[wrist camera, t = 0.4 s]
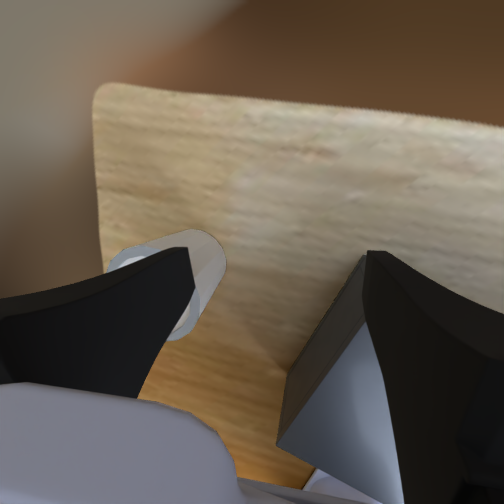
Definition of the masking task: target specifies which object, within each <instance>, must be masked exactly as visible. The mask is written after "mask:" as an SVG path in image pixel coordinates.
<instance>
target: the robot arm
mask: <svg viewBox="0 0 504 504" xmlns="http://www.w3.org/2000/svg"><path fill="white" fill-rule="evenodd" d="M195 288H196V287H195V281H194V276H193V271H192V266H191V261H190V256H189V251H188V247H171V248H168V249H165V250H162V251H160V252H157V253H155V254H152V255H150V256H147V257H145V258H143V259H140V260H138V261H136V262H133V263H131V264H128V265H126V266H123V267H121V268H118V269H116V270H113V271H111V272H108V273H105V274H102V275H100V276H97V277H94V278H90V279H87V280H84V281H81V282H77V283H74V284H70V285H66V286H62V287H58V288H54V289H50V290H46V291H41V292H36V293H31V294H26V295H20V296H14V297H8V298H2V299H0V504H382V503H380V502H378V501H376V500H374V499H373V498H371V497H369V496H367V495H365V494H363V493H362V492H360V491H358V490H356V489H354V488H352V487H351V486H349V485H347V484H345V483H343V482H341V481H340V480H338V479H336V478H334V477H332V476H330V475H329V474H327V473H325V472H323V471H321V470H319V469H318V468H316V470H315V471H314V473H313V474H312V476H311V477H310V479H309V480H308V482H307V483H306V485H305V486H304V488H303V489H302V490H299V489H294V488H289V487H284V486H279V485H274V484H270V483H265V482H260V481H255V480H250V479H245V478H240V477H237V475H236V470H235V464H234V460H233V459H232V457H231V455H230V453H229V451H228V450H227V448H226V446H225V445H224V443H223V441H222V439H221V438H220V436H219V434H218V433H217V431H215V430H214V429H213V428H211V427H210V426H208V425H207V424H206V423H204V422H203V421H201V420H200V419H199V418H197V417H196V416H194V415H193V414H192V413H190V412H187V411H184V410H181V409H178V408H175V407H172V406H169V405H166V404H163V403H159V402H155V401H149V400H142V399H137V397H138V395H139V393H140V390H141V388H142V386H143V384H144V381H145V379H146V377H147V375H148V373H149V371H150V369H151V367H152V365H153V363H154V361H155V359H156V357H157V355H158V353H159V351H160V350H161V348H162V346H163V345H164V343H165V342H166V340H167V338H168V337H169V335H170V334H171V332H172V330H173V329H174V327H175V326H176V324H177V323H178V321H179V319H180V318H181V316H182V315H183V313H184V311H185V310H186V308H187V306H188V304H189V302H190V300H191V298H192V295H193V293H194V290H195ZM362 302H363V309H364V315H365V320H366V323H367V327H368V330H369V333H370V337H371V340H372V343H373V346H374V350H375V353H376V356H377V359H378V363H379V366H380V369H381V373H382V377H383V381H384V385H385V390H386V396H387V401H388V406H389V411H390V417H391V423H392V429H393V434H394V440H395V446H396V453H397V459H398V465H399V472H400V478H401V485H402V492H403V499H404V504H504V314H502V313H499V312H497V311H494V310H492V309H489V308H487V307H485V306H482V305H480V304H478V303H476V302H473V301H471V300H469V299H467V298H465V297H463V296H461V295H458V294H456V293H454V292H453V291H451V290H449V289H447V288H445V287H443V286H441V285H440V284H438V283H436V282H434V281H433V280H431V279H429V278H428V277H426V276H424V275H423V274H421V273H419V272H418V271H416V270H415V269H413V268H412V267H410V266H409V265H407V264H405V263H404V262H402V261H401V260H399V259H398V258H396V257H395V256H393V255H392V254H390V253H388V252H387V251H374V250H367V256H366V264H365V272H364V281H363V289H362Z"/></svg>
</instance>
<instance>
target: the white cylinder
mask: <svg viewBox="0 0 504 504" xmlns="http://www.w3.org/2000/svg"><path fill="white" fill-rule="evenodd" d="M171 247H188V251H189V256H190V261H191V266H192V271H193V276H194V281H195V287H196V288H195V290H194V293H193V295H192V298H191V300H190V302H189V304H188V306H187V308H186V310H185V311H184V313H183V315H182V316H181V318H180V319H179V321H178V323H177V324H176V326H175V327H174V329H173V330H172V332H171V334H170V335H169V337H168V338H167V340H166V341H174V340H178V339H180V338H182V337H183V336H185V335H186V334H188V333H190V332H191V331H192V329H193V327H194V326H195V324H196V322H197V320H198V319H199V317H200V315H201V314H202V312H203V310H204V308H205V307H206V305H207V303H208V301H209V300H210V298H211V296H212V295H213V293H214V291H215V289H216V288H217V286H218V284H219V282H220V281H221V279H222V277H223V275H224V274H225V271H226V257H225V254H224V251H223V248H222V247H221V246H220V244H219V243H218V242H217V240H216V239H215V238H214V237H212V236H211V235H209V234H207V233H206V232H204V231H201V230H195V229H188V230H184V231H180V232H177V233H174V234H171V235H167V236H164V237H161V238H158V239H155V240H152V241H148V242H145V243H142V244H139V245H136V246H133V247H130V248H126V249H123V250H122V251H121V252H120V253H119V254H117V255H116V256H115V257H114V258H113V259H112V260H111V261H110V264H109V266H108V269H107V272H106V273H108V272H111V271H113V270H116V269H118V268H121V267H123V266H126V265H128V264H131V263H133V262H136V261H138V260H140V259H143V258H145V257H147V256H150V255H152V254H155V253H157V252H160V251H162V250H165V249H168V248H171Z"/></svg>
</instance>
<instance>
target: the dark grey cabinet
mask: <svg viewBox="0 0 504 504" xmlns="http://www.w3.org/2000/svg"><path fill="white" fill-rule="evenodd" d="M365 264H366V255H363V256H362V258H361V260H360V261H359V263H358V264H357V266H356V267H355V269H354V271H353V272H352V274H351V275H350V277H349V278H348V280H347V281H346V283H345V285H344V286H343V288H342V289H341V291H340V292H339V294H338V296H337V297H336V299H335V300H334V302H333V303H332V305H331V307H330V308H329V310H328V311H327V313H326V314H325V316H324V317H323V319H322V321H321V322H320V324H319V325H318V327H317V328H316V330H315V332H314V333H313V335H312V336H311V338H310V339H309V341H308V342H307V344H306V346H305V347H304V349H303V350H302V352H301V353H300V355H299V357H298V358H297V360H296V361H295V363H294V364H293V366H292V367H291V369H290V371H289V372H288V374H287V377H286V384H285V390H284V396H283V402H282V409H281V415H280V421H279V428H278V434H277V439H276V446H277V447H279V448H281V449H283V450H285V451H286V452H288V453H290V454H292V455H294V456H296V457H297V458H299V459H301V460H303V461H305V462H307V463H308V464H310V465H312V466H314V467H316V468H318V469H319V470H321V471H323V472H325V473H327V474H329V475H330V476H332V477H334V478H336V479H338V480H340V481H341V482H343V483H345V484H347V485H349V486H351V487H352V488H354V489H356V490H358V491H360V492H362V493H363V494H365V495H367V496H369V497H371V498H373V499H374V500H376V501H378V502H380V503H382V504H404V499H403V492H402V485H401V478H400V472H399V465H398V459H397V453H396V446H395V440H394V434H393V429H392V423H391V417H390V411H389V406H388V401H387V396H386V390H385V385H384V381H383V377H382V373H381V369H380V366H379V363H378V359H377V356H376V353H375V350H374V346H373V343H372V340H371V337H370V333H369V330H368V327H367V323H366V320H365V315H364V309H363V302H362V289H363V281H364V272H365Z"/></svg>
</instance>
